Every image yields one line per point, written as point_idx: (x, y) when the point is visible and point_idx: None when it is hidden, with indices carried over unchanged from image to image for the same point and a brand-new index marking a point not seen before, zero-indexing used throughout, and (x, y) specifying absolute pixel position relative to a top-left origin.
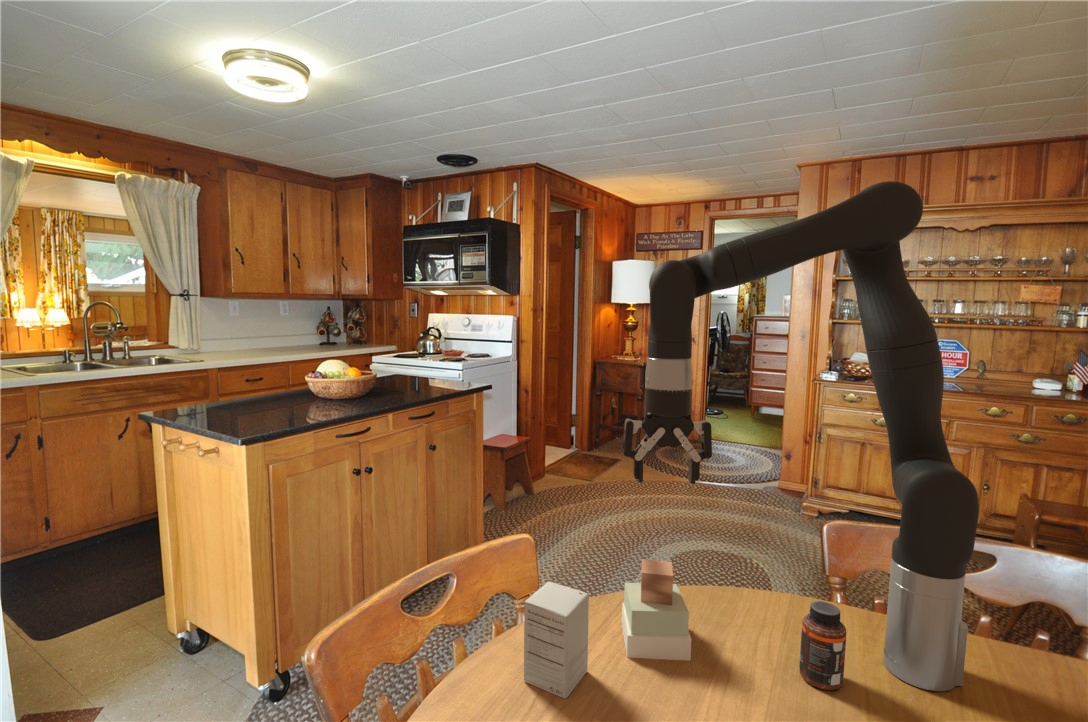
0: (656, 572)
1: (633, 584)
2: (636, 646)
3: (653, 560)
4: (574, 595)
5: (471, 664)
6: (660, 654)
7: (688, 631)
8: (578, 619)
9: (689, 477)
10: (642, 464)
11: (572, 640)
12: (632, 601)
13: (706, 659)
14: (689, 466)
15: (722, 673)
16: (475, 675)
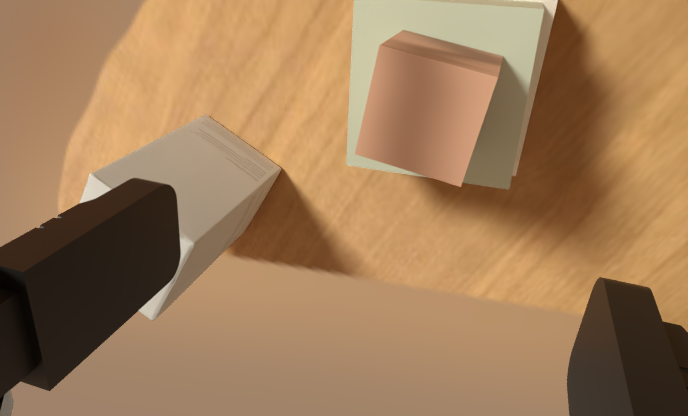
0: (407, 158)
1: (381, 10)
2: None
3: (423, 60)
4: None
5: (81, 126)
6: None
7: (522, 144)
8: (193, 269)
9: (591, 334)
10: (65, 369)
11: (201, 269)
12: (356, 118)
13: (560, 156)
14: (610, 405)
15: (574, 206)
16: (96, 156)
